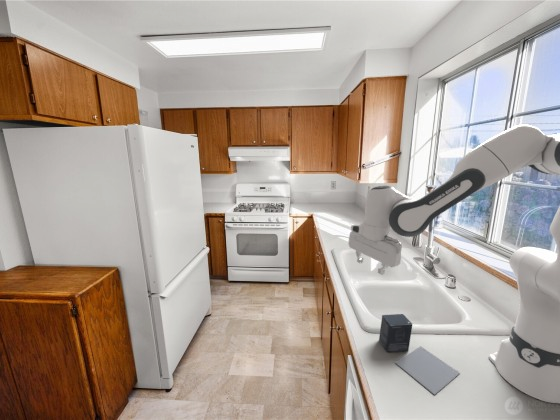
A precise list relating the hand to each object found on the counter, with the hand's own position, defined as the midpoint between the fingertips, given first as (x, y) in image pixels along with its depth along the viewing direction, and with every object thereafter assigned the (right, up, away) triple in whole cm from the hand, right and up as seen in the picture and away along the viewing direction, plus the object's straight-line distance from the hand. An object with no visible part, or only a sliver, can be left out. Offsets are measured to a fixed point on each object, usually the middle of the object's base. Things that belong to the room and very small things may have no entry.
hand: (369, 267), depth 88 cm
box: (+7, -26, -4) cm, 27 cm away
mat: (+13, -28, -13) cm, 34 cm away
